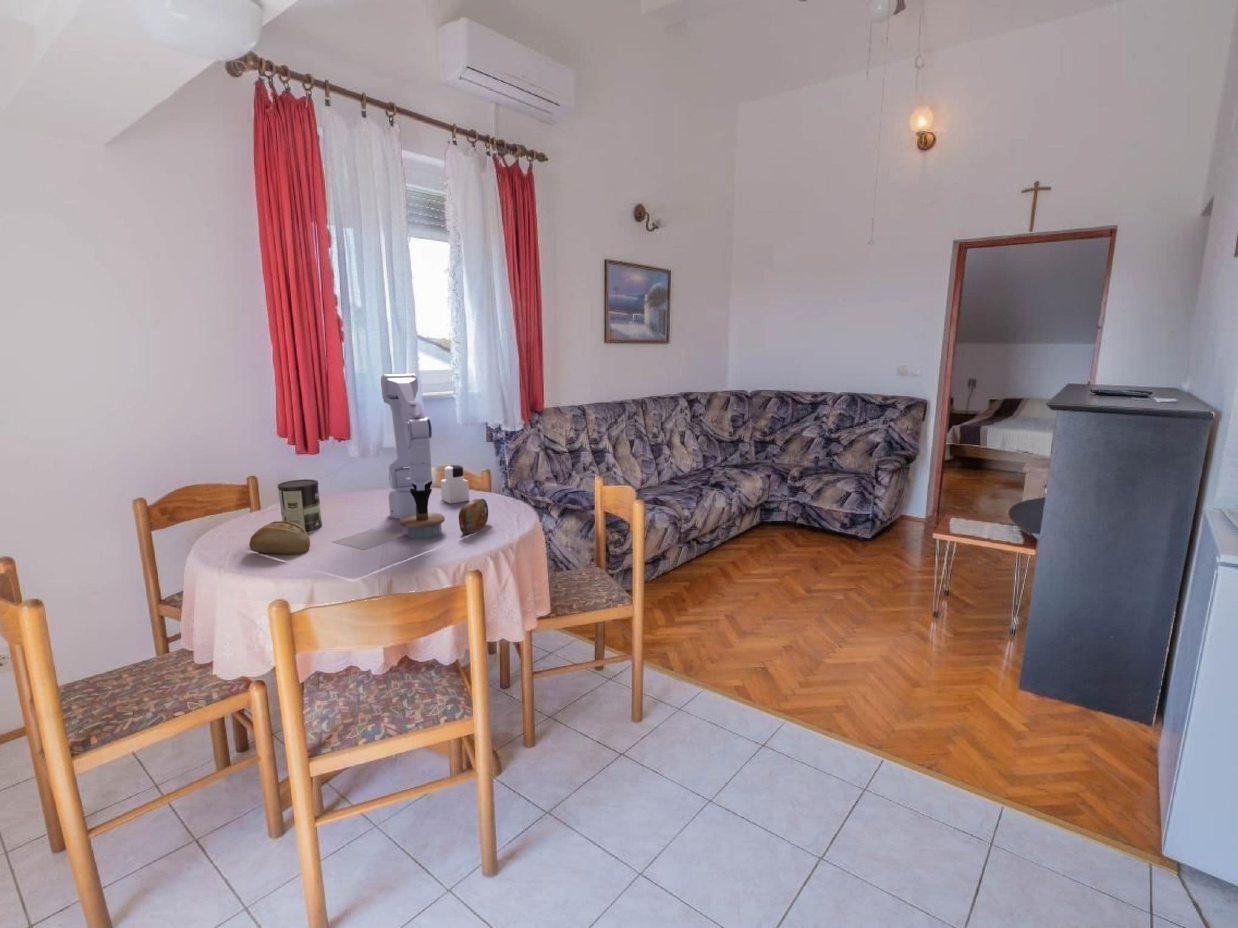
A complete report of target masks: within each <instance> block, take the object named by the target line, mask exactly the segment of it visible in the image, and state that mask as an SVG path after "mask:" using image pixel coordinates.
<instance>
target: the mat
mask: <svg viewBox="0 0 1238 928" xmlns="http://www.w3.org/2000/svg"><path fill="white" fill-rule="evenodd" d="M403 537H404V536H403V535H401V534H400V535H399V534H396V533H390V532H387V531H382V530H376V529H372V528H371V529H368V530H365V531H362V532H359V533H356V534H352V535H349V536H347V537H346V536H345V537H343V538H339V539H336V540H333V541H332V543H334V544H338V545H342V546H346V547H350V548H354V549H358V550H361V551H365V550H368V549H371V548H373V547H377V546H380V545H382V544H383V545H384V544H385V543H387V542H391V541H395V540H397V539H400V538H403Z"/></svg>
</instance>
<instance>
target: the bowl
mask: <svg viewBox="0 0 1238 928" xmlns="http://www.w3.org/2000/svg"><path fill="white" fill-rule="evenodd" d="M442 530H443V529H442V523H441V524H438V525H435V526H431V527H423V528H409V527H406V534H407V537H408V538H412V539H417V540H418V539H419V540H420V539H422V540H423V539H430V538H434V537H437V536H440V535H441V533H443V532H442Z"/></svg>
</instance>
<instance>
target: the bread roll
mask: <svg viewBox="0 0 1238 928" xmlns="http://www.w3.org/2000/svg"><path fill="white" fill-rule="evenodd" d="M249 548H250V550H251V551H252V552H254V553H266V554H281V555H282V554H283V555H299V554H303V553H305V552H308V551H309V549H310V548H311V541H310V537H309V535H308V533H306V531H305V530H304V528H303V527H302V526H301V525H299V524H297V523H295V522H290V521H282V520H281V521H273V522H270V523H268V524H267V525H264V526H262V527H261V528H259V529H258V530H257V531H255V533H253V535H251V537H250V540H249Z"/></svg>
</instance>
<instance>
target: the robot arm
mask: <svg viewBox="0 0 1238 928" xmlns="http://www.w3.org/2000/svg"><path fill="white" fill-rule="evenodd" d="M418 381H419V380H418V376H417V375H416V374H415V373H401V374H400V373H399V374H397V373H395V374H390V373H389V374H386V373H383V374H382V375H381V377H380V385H381V396H382V399H383V403H385V404H387V405H389V406H390V407H389V408H390V409H391V415H392V422H393V432H394V439H395V449H396V456H397V457H396V458H395V459H394V460H393V461H391V463H390V464H389V466H388V480H389V484H390V488H391V490H390V491H389V493H388V507H389V515H387V517H390V518H393V519H394V518H395V519H399V520H400V519H401V518H403V517H405V516H408V515H412V514H416V506H417V510H418V513H419V514H426V513H427V509H429V508H428V507H429V499H430V496H431V493H432V490H433V488H431V487H432V485H433V480H434V479H433V476H432V475H433V474H432V457H431V439H432V436H433V435H432V434H433V430H432V429H433V427H432V423H431V420H430V417H428V416H425V414H424V411H423V409H422V406H421V405H420V403H419V402H417V401H416V400H415V399H416V397H417V393H418V389H419V383H418Z"/></svg>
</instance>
